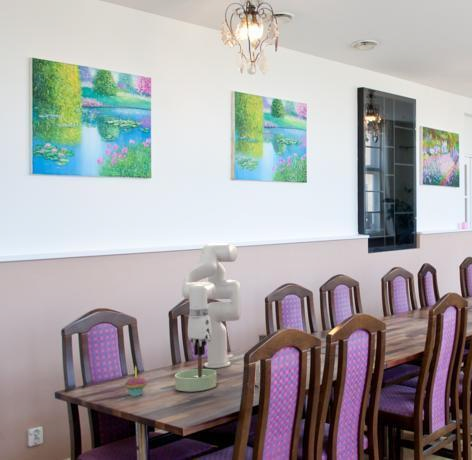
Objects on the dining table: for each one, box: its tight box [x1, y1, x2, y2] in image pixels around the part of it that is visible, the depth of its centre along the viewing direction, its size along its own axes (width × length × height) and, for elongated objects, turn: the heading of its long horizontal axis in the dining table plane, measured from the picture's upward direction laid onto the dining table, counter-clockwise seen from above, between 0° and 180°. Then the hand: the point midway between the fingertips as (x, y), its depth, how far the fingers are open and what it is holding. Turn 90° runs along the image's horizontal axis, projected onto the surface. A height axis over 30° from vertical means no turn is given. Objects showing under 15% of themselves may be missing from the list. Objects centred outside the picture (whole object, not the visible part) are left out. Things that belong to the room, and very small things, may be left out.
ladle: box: [194, 342, 206, 378], centre depth 281 cm, size 5×5×18 cm
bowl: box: [174, 368, 218, 393], centre depth 279 cm, size 17×17×6 cm
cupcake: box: [124, 364, 148, 397], centre depth 269 cm, size 9×8×12 cm
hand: (199, 354), depth 281 cm, fingers closed on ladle
